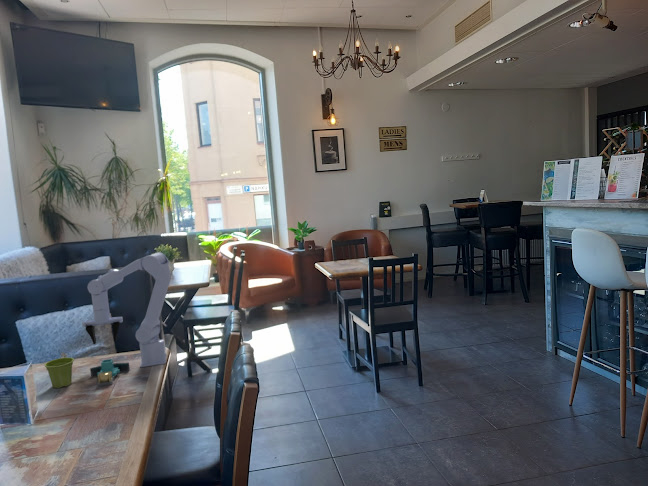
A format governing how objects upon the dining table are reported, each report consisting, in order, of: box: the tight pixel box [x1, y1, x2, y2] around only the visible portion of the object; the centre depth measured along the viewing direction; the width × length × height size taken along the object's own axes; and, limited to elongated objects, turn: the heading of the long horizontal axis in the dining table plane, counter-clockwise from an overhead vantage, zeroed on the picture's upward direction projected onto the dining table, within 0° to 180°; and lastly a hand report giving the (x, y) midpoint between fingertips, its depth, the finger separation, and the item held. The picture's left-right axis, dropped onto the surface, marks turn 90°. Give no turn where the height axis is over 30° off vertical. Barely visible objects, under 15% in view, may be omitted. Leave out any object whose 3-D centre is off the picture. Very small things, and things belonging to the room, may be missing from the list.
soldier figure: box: [59, 352, 69, 358], centre depth 198 cm, size 8×5×12 cm
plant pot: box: [44, 356, 74, 389], centre depth 177 cm, size 9×9×9 cm
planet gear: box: [96, 358, 121, 377], centre depth 182 cm, size 8×8×5 cm
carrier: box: [89, 361, 131, 387], centre depth 181 cm, size 14×15×5 cm
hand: (105, 342), depth 195 cm, fingers open, 7 cm apart
